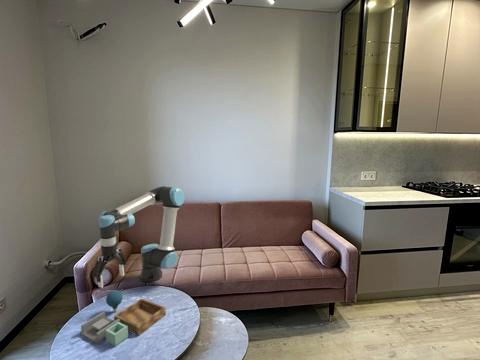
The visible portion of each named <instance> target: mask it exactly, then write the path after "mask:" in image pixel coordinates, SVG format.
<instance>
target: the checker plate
mask: <svg viewBox="0 0 480 360" xmlns="http://www.w3.org/2000/svg"><path fill="white" fill-rule="evenodd" d="M109 324H110V322H109V321H107V320H105V319H103V318H102V319H101V320H99V321H98V322H96V323H94V324H93V325H92V327H93V328H95V329H97V330H99V331H100V330H102V329H103V328H105V327H106V326H108V325H109Z"/></svg>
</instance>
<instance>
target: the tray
mask: <svg viewBox="0 0 480 360" xmlns="http://www.w3.org/2000/svg"><path fill="white" fill-rule="evenodd" d="M166 315H167V313H166V307H165V306H162V305H160V304H158V303H155V302H153V301H149V300H147V299H144V298H140V299H138V300H137V301H135V302H133V303H132V304H130V305H129V306H128V307H126V308H125V309H122V310H121V311H119V312H118V313H116V314H114V315H113V321H116V320H117V319H120V323H122V324H124V325H126V326H128V330H129V331H128V332H130V331H131V333H132V332H133V333H132V334H134V333H135V334H134V335H137V336H141V335H142V334H143V333H144V332H146V331H147V330H149V329H150V328H151V327H152V326H154V325H155V324H156V323H158V322H159V321H160V320H162V318H164V317H165V316H166Z"/></svg>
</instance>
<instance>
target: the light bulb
mask: <svg viewBox="0 0 480 360" xmlns="http://www.w3.org/2000/svg"><path fill="white" fill-rule="evenodd" d="M123 296H124V295H123V294H122V292H121V291H119V290H112V291H110V292H109V293H108V294H107V296H106V299H105V300H106V304H107V305H108V306H109V307H111V308H112V309H113V312H114V313H116V312H117V311H118V306H119V305H120V304H121V303H122V301H123V298H124V297H123Z"/></svg>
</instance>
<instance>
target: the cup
mask: <svg viewBox="0 0 480 360" xmlns="http://www.w3.org/2000/svg"><path fill="white" fill-rule="evenodd" d="M105 333H106V340H105V342H107V343H109V344H110V345H112V346H114V347H115V348H116V347H118V346H119V345H120V344H121V343H123V342H124V341H126V340H127V339H128V338H129V331H128V326H126V325H124V324H122V323H120V322H117V323H115V324H114V325H112V326H111V327H109V328H108V329H106V330H105Z"/></svg>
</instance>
